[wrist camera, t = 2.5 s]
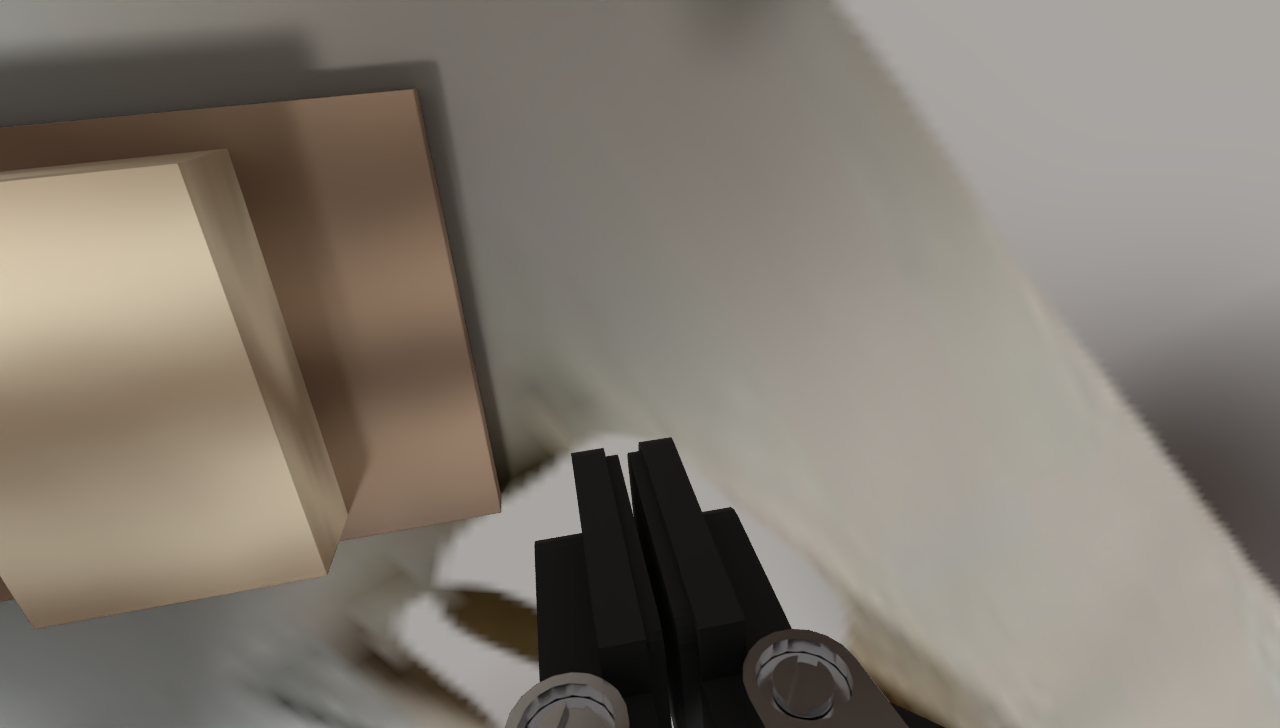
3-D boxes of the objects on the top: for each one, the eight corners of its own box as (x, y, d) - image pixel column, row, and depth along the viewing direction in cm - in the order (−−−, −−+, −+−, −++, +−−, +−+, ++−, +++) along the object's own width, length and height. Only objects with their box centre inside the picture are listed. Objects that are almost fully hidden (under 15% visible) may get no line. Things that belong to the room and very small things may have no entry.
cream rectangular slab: (348, 514, 23) (327, 575, 20) (92, 559, 22) (33, 629, 19) (227, 148, 18) (177, 163, 15) (-114, 183, 17) (-234, 206, 14)
